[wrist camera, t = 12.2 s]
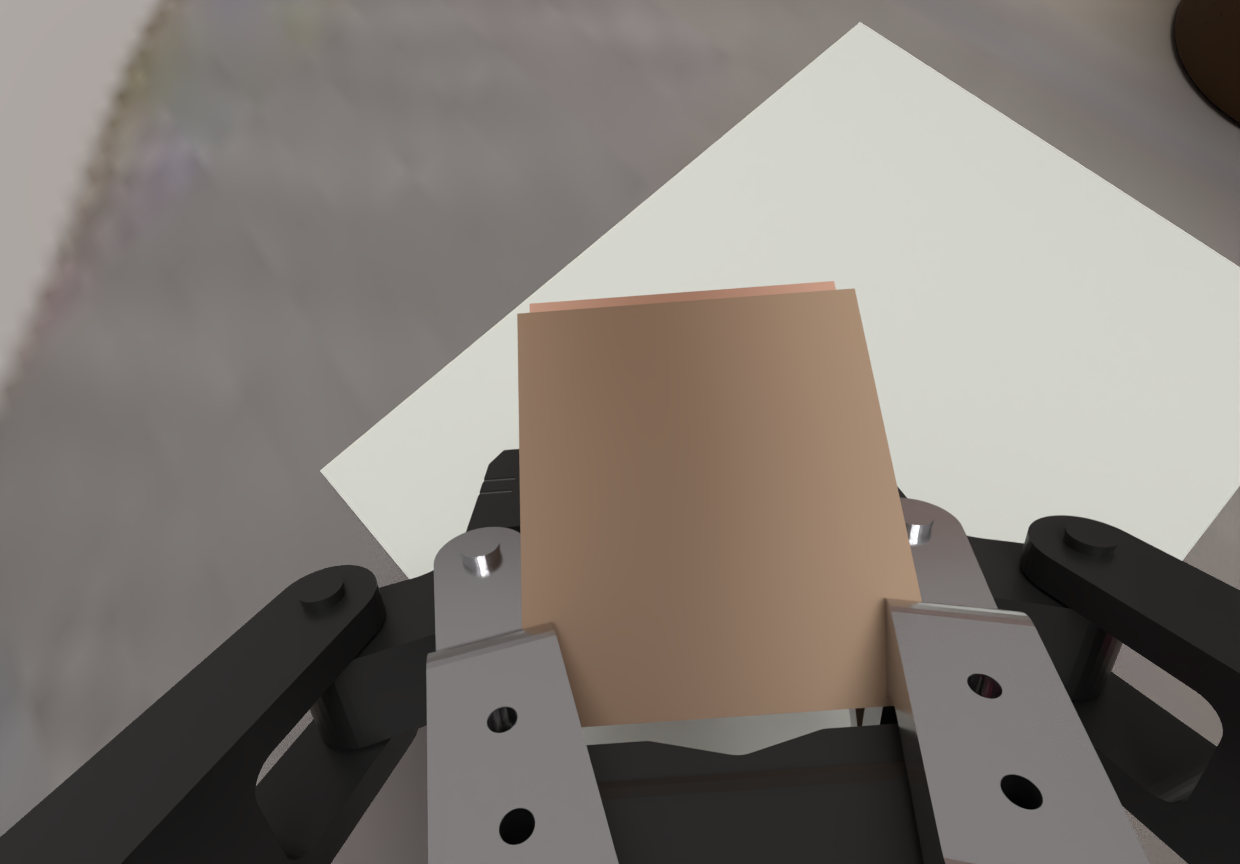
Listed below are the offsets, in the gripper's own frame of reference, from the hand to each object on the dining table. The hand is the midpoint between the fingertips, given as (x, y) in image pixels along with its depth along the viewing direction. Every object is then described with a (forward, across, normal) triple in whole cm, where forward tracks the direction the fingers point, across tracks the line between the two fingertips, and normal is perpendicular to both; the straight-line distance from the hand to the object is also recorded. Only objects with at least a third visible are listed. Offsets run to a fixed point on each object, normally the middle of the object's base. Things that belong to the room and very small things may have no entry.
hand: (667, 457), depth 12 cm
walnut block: (+1, 0, +4) cm, 4 cm away
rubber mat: (+6, -5, +2) cm, 8 cm away
